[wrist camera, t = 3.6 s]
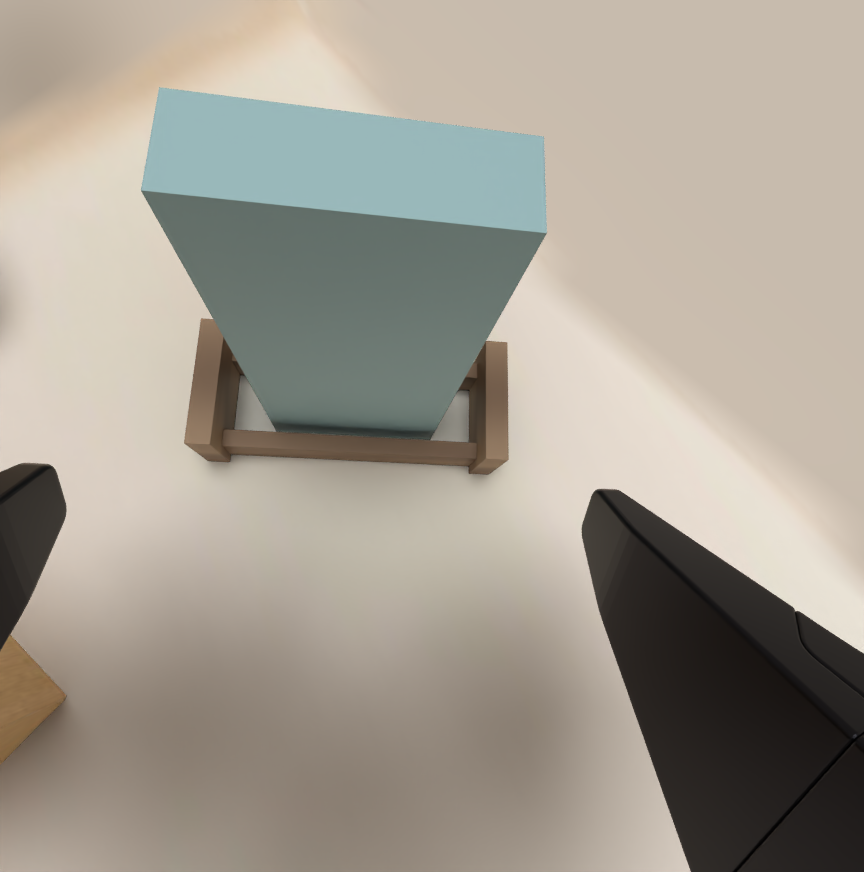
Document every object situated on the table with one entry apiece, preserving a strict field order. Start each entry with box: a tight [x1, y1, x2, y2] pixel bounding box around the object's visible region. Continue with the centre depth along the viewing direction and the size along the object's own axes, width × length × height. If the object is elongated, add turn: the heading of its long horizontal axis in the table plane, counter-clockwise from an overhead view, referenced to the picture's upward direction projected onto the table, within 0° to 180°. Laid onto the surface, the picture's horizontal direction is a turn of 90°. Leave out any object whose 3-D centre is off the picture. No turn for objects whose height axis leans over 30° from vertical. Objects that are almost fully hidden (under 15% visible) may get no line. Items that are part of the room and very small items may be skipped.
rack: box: [184, 319, 508, 474], centre depth 20 cm, size 4×11×3 cm, turn 89°
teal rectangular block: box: [141, 87, 547, 440], centre depth 15 cm, size 2×6×14 cm, turn 89°
